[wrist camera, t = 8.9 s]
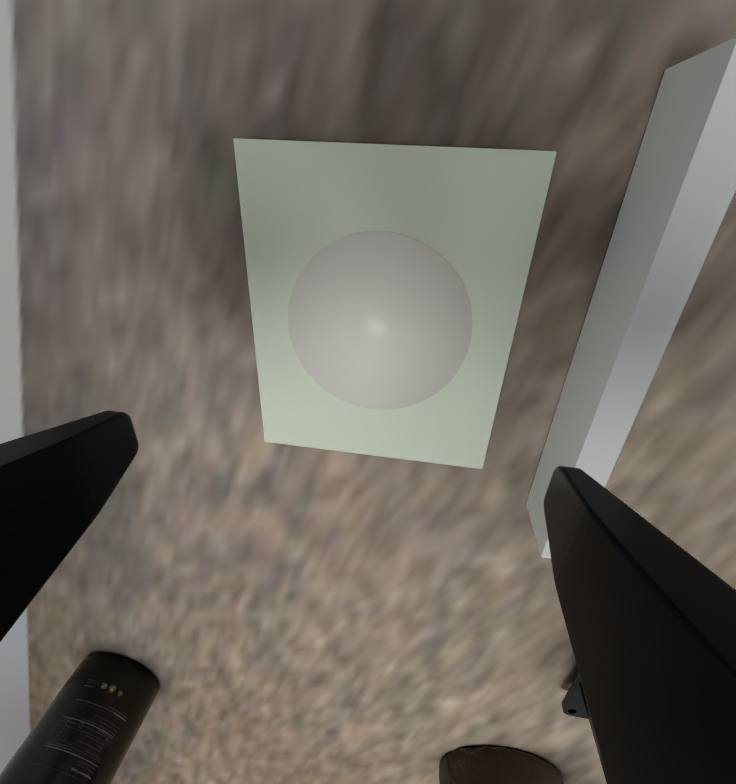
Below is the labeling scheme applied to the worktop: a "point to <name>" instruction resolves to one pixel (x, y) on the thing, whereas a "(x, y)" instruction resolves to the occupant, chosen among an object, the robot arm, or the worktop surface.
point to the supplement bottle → (86, 725)
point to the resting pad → (386, 290)
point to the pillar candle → (495, 767)
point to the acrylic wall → (646, 269)
